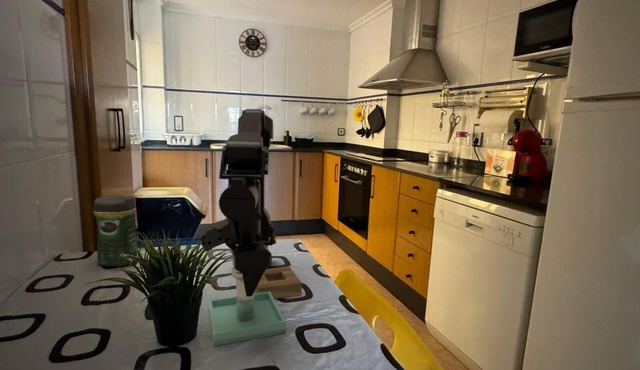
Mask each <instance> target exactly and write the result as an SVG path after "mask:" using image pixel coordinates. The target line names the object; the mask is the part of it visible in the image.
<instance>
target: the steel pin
mask: <svg viewBox="0 0 640 370" xmlns="http://www.w3.org/2000/svg"><path fill="white" fill-rule="evenodd" d="M231 276H232V277H233V278H235V281H236V282H235V285H236V286H235V288H236V289H235V290H236V292H235V293H236V294H235V296H236V318H237V320H239V321H243V322H245V321H250V320H252V319H253V318H254V317H255V292H254V294H253V296H250V297H247V296H246V293H245V288H244V283H243V277H242V273H241V272H239V271H237V270H236V269H235V268H234V266H232V268H231Z"/></svg>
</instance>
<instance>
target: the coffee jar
mask: <svg viewBox="0 0 640 370" xmlns="http://www.w3.org/2000/svg"><path fill="white" fill-rule="evenodd" d="M136 212H137V207H136V200H135V198H134V197H133V196H131V195H127V196H126V195H103V196H99V197H97V198H95V200H94V203H93V215H94V217H95V220H96V224H97V249H96V250H97V253H96V254H97V255H96V256H97V257H96V258H97V263H98V265H100V266H106V267H108V266H112V267H114V266H116V267H117V266H126V265H129V264H131V263H130V262H129V261H128V260H126V259H125V258H123V257H121V256H120V254H129V255H133V256H137V251H136V248H137V247H138V248H139V246H138V240H137V236H136V229H135V228H136V227H135V214H136Z"/></svg>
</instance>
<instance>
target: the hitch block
mask: <svg viewBox="0 0 640 370" xmlns="http://www.w3.org/2000/svg"><path fill="white" fill-rule="evenodd" d="M269 291H270V292H271V294H272V296H273V298H274V300H276V299H283V298H289V297H296V296H301V295H302V281H301V280H300V279H299V277H298V276H297V275H296V273H295V272H294V271H293V269H292V268H291V266H283V267H282V266H281V267H275V268H274V267H273V268H267V269H266V270H265V272H264V274H263V276H262V277H261V279H260V281H259V283H258V285H257V288H256V290H255V293H262V292H269Z"/></svg>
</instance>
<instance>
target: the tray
mask: <svg viewBox="0 0 640 370" xmlns="http://www.w3.org/2000/svg"><path fill="white" fill-rule="evenodd" d="M207 302H208V303H207V304H208V315H209V321H210V322H209V323H210V328H211V329H210V330H211V335H212V336H211V337H212V343H213V344H212V345H213V347H215V346H220V345H226V344H227V345H228V344H231V343H238V342H243V341H247V340H254V339H258V338H259V339H260V338H264V337H269V336H274V335H281V334H285V333H286V332H287V321H286V319H285V317H284V315H283V313H282V312H281V310H280V308H279V306H278V304H277V301H276V299H274V298H273V296H272V294H271V292H270V291H269V292H262V293H255V317H254V318H253V319H252V320H250V321H245V322H243V321H239V320H237V318H236V295H235V296H234V295H233V296H228V297H219V298H214V299H213V298H212V299H208V301H207Z"/></svg>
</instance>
